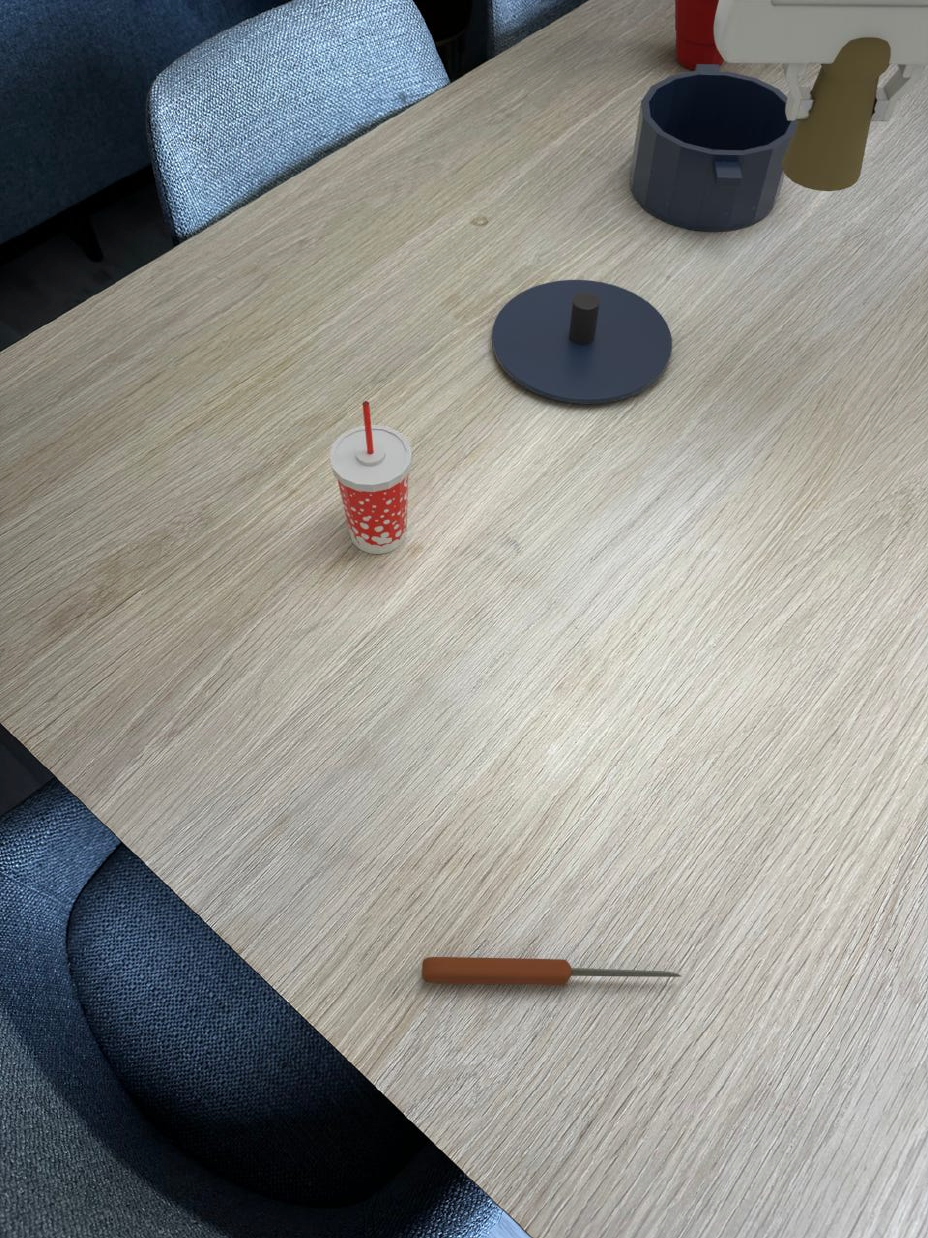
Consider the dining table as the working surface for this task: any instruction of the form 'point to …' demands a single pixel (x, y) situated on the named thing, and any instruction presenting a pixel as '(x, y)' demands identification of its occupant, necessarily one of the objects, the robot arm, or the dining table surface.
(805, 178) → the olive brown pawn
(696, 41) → the plastic cup
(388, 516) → the beverage cup
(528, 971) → the orange-handled awl
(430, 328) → the dining table surface
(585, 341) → the lid
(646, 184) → the pot
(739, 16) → the robot arm
